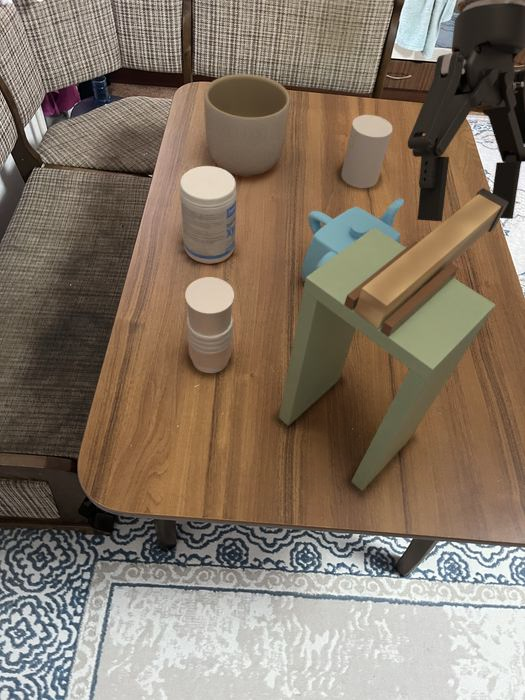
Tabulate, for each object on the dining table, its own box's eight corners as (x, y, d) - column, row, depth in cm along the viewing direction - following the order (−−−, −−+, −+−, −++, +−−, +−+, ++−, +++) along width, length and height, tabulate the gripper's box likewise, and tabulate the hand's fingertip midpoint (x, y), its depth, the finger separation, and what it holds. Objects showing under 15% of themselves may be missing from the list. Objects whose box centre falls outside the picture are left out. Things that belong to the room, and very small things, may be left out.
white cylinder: (350, 161, 120) (362, 110, 111) (383, 174, 118) (398, 123, 109) (335, 179, 116) (345, 127, 106) (368, 192, 114) (383, 142, 104)
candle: (241, 359, 86) (245, 296, 74) (207, 383, 82) (206, 322, 70) (213, 333, 88) (213, 269, 76) (180, 355, 85) (174, 292, 73)
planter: (290, 149, 121) (298, 83, 109) (272, 193, 111) (279, 126, 99) (218, 134, 123) (218, 67, 111) (194, 176, 113) (192, 108, 101)
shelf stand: (411, 437, 79) (502, 294, 54) (362, 491, 74) (438, 360, 48) (329, 372, 85) (377, 216, 60) (278, 417, 80) (307, 266, 54)
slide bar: (494, 228, 63) (509, 201, 60) (379, 331, 52) (389, 305, 49) (470, 213, 64) (482, 187, 61) (352, 311, 53) (360, 285, 50)
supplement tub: (238, 263, 98) (241, 198, 87) (187, 268, 97) (183, 202, 85) (229, 228, 104) (231, 162, 92) (180, 232, 102) (176, 166, 90)
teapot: (391, 322, 93) (414, 267, 82) (297, 311, 92) (309, 254, 82) (385, 250, 103) (405, 193, 93) (301, 241, 103) (312, 182, 93)
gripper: (524, 38, 66) (499, 215, 72) (383, -5, 52) (367, 219, 58) (587, 24, 60) (554, 218, 66) (449, -28, 46) (423, 223, 52)
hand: (467, 219), depth 62 cm, fingers open, 13 cm apart
